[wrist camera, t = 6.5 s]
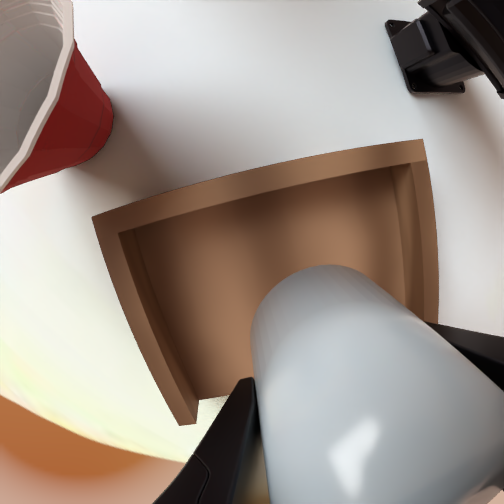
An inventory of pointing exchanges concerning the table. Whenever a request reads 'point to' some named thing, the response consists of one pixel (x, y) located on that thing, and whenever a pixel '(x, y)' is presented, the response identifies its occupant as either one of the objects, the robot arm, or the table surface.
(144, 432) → the table surface
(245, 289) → the wooden tray
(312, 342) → the grey rounded cone
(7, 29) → the plastic cup
